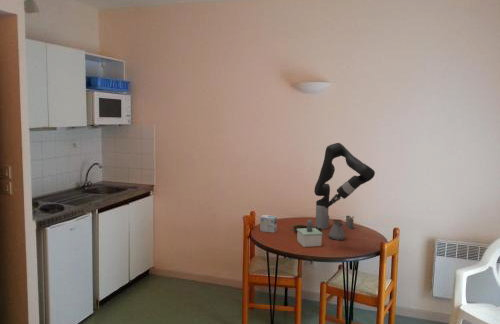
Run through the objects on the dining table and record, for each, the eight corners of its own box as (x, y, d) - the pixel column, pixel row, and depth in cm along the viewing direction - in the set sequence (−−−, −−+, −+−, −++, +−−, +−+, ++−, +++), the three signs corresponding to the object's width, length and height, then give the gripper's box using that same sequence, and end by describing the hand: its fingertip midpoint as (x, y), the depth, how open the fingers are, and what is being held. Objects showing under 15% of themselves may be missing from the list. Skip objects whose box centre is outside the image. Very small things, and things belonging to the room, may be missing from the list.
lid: (314, 230, 264) (315, 217, 263) (322, 236, 251) (323, 222, 250) (296, 231, 261) (296, 218, 260) (303, 237, 249) (303, 223, 247)
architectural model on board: (353, 229, 294) (354, 216, 293) (349, 229, 294) (350, 216, 293) (349, 225, 306) (350, 213, 305) (345, 225, 306) (346, 213, 304)
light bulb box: (276, 230, 287) (277, 216, 286) (274, 233, 281) (274, 218, 280) (262, 228, 291) (263, 214, 290) (259, 231, 285) (260, 216, 283)
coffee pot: (327, 236, 276) (327, 215, 274) (343, 236, 275) (344, 215, 274) (332, 246, 254) (333, 223, 253) (350, 246, 254) (351, 224, 252)
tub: (314, 241, 264) (314, 229, 263) (321, 246, 253) (321, 234, 252) (297, 242, 262) (297, 230, 261) (303, 248, 250) (303, 235, 249)
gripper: (344, 183, 251) (325, 199, 257) (339, 186, 238) (320, 203, 244) (352, 192, 250) (333, 208, 255) (348, 196, 237) (328, 212, 242)
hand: (327, 205), depth 250 cm, fingers open, 8 cm apart
